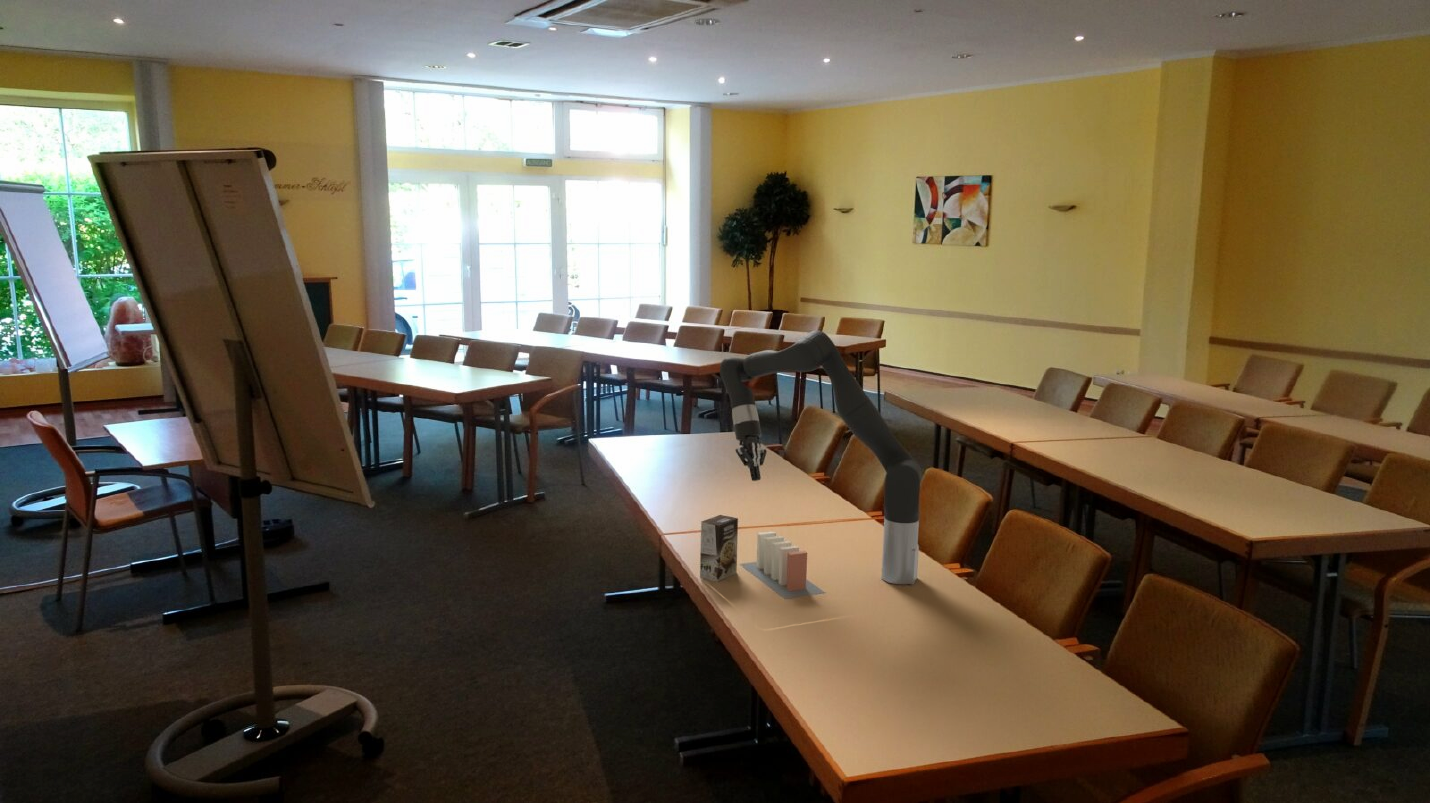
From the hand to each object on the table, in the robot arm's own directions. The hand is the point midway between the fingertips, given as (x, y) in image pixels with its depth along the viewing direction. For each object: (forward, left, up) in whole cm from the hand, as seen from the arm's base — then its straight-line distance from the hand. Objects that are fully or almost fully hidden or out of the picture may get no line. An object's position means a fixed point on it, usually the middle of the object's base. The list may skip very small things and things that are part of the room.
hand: (756, 480), depth 276 cm
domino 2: (-10, +12, -22) cm, 27 cm away
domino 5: (-19, +22, -22) cm, 37 cm away
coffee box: (+4, +20, -23) cm, 31 cm away
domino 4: (-16, +18, -22) cm, 33 cm away
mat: (-13, +15, -23) cm, 30 cm away
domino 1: (-6, +9, -22) cm, 25 cm away
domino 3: (-13, +15, -22) cm, 30 cm away
